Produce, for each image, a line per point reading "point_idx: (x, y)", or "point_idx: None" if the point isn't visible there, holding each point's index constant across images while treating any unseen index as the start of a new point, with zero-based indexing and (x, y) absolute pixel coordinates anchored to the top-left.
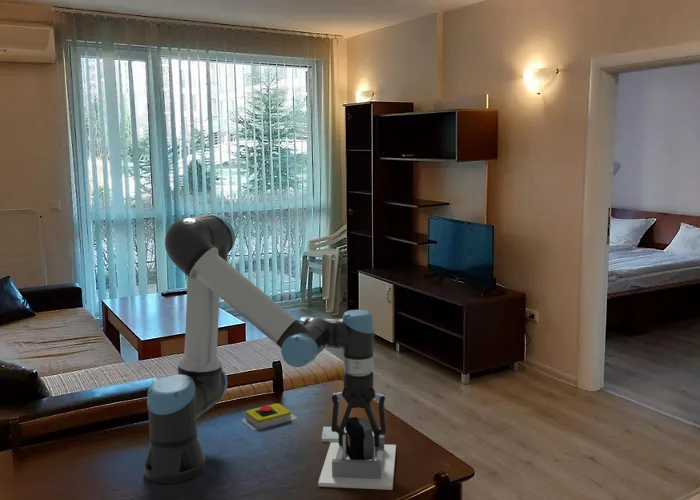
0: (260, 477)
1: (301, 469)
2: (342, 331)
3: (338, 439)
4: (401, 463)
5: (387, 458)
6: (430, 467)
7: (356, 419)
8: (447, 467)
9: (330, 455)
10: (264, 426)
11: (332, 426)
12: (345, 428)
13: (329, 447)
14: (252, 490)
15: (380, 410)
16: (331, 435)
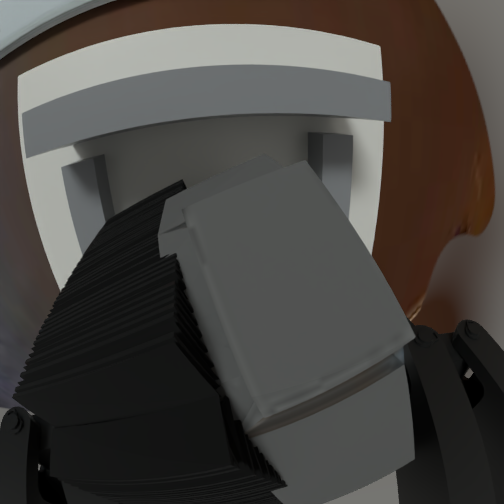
0: None
1: (19, 318)
2: None
3: (53, 19)
4: (390, 188)
5: (352, 189)
6: (451, 205)
7: (244, 493)
8: (476, 200)
9: (52, 223)
10: None
11: (54, 482)
12: (55, 306)
13: (21, 135)
14: (16, 401)
15: (502, 498)
16: (21, 10)
